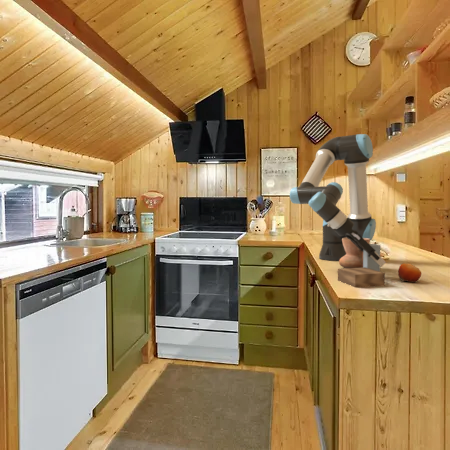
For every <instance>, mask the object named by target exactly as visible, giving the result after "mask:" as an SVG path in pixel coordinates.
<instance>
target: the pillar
mask: <svg viewBox="0 0 450 450" xmlns="http://www.w3.org/2000/svg"><path fill="white" fill-rule="evenodd" d="M369 245H370V246H371V247H372V248H373V249H375V252H376V253H377V254H378V255H379V256H380V257H381V244H377V243H370V244H369ZM368 255H369V254H368V253H367V252H366V251H365V250H364V249H363V268H364V267H365V268H369V269H372V270H376V271H379V272H381V267H380V266H379V265H378V264H377V263H376V262H375V261H374V260H373V259H372V258H371V257H369V256H368Z"/></svg>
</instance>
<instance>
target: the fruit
mask: <svg viewBox="0 0 450 450" xmlns="http://www.w3.org/2000/svg"><path fill="white" fill-rule="evenodd" d="M397 274H398V277H399V278H398V279H399V280H400V281H401V283H403V282H408V283H409V282H410V283H416V282H418V281H419V279H420V278H421V276H422V271H421V270H420V268H418V267H417V266H415V265H412V264H411V263H405V262H403V263H401V264H400V265H399V268H398V270H397Z"/></svg>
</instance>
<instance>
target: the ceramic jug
mask: <svg viewBox="0 0 450 450" xmlns="http://www.w3.org/2000/svg"><path fill="white" fill-rule="evenodd" d="M363 239H364V240H365V241H366V242H367V243H368V244H371V240H370V239H369V238H363ZM342 242H343V246H344V249H345V251H346V255H345V256H343V257H342V258H341V259H340V260H339V261H338V263H339V265H340V266H341V267H342V268H363V252H362V251H360V249H359V248H358V247H357V246H356V245H355V244H354V243H353V242H351V240H350V239H348V238H342Z"/></svg>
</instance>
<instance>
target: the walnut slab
mask: <svg viewBox="0 0 450 450" xmlns="http://www.w3.org/2000/svg"><path fill="white" fill-rule="evenodd" d="M385 274H386V272H384V271H380V272H379V271H376V270H372V269H369V268H365V267H364V268H344V267H342V268H337V281H338V282H340V281H341V282H340V283H342V284H345V283H346V284H345V285H348V286H350V285H351V287H354V288H370V287H371V288H372V287H382V286H383V287H384V286H385Z"/></svg>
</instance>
